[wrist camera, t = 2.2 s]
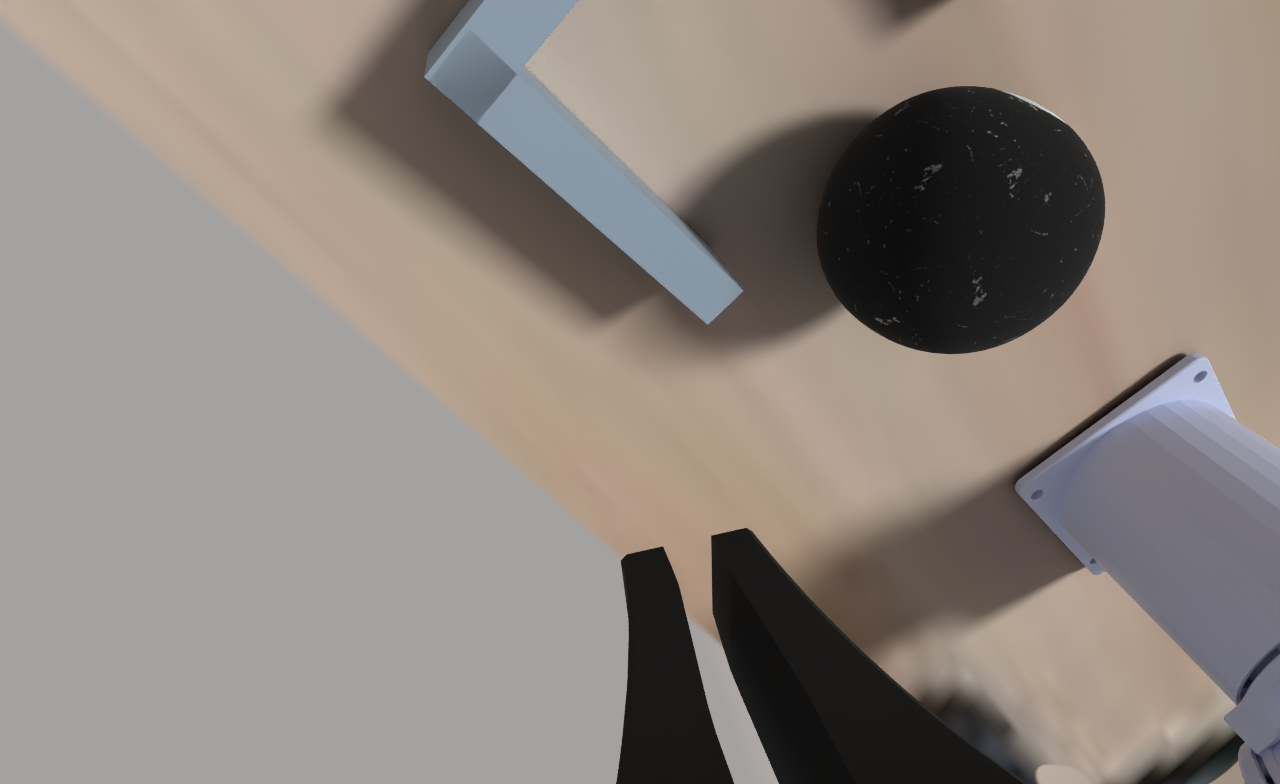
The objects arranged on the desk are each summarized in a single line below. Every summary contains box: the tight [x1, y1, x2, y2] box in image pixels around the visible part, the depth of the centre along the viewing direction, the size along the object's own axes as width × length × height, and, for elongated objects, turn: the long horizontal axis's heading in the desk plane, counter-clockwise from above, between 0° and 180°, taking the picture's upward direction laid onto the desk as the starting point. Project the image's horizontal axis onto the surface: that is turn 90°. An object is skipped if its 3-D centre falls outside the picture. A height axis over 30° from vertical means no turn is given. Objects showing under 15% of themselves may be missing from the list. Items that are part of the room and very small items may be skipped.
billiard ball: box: [817, 86, 1105, 354], centre depth 17 cm, size 6×6×6 cm
